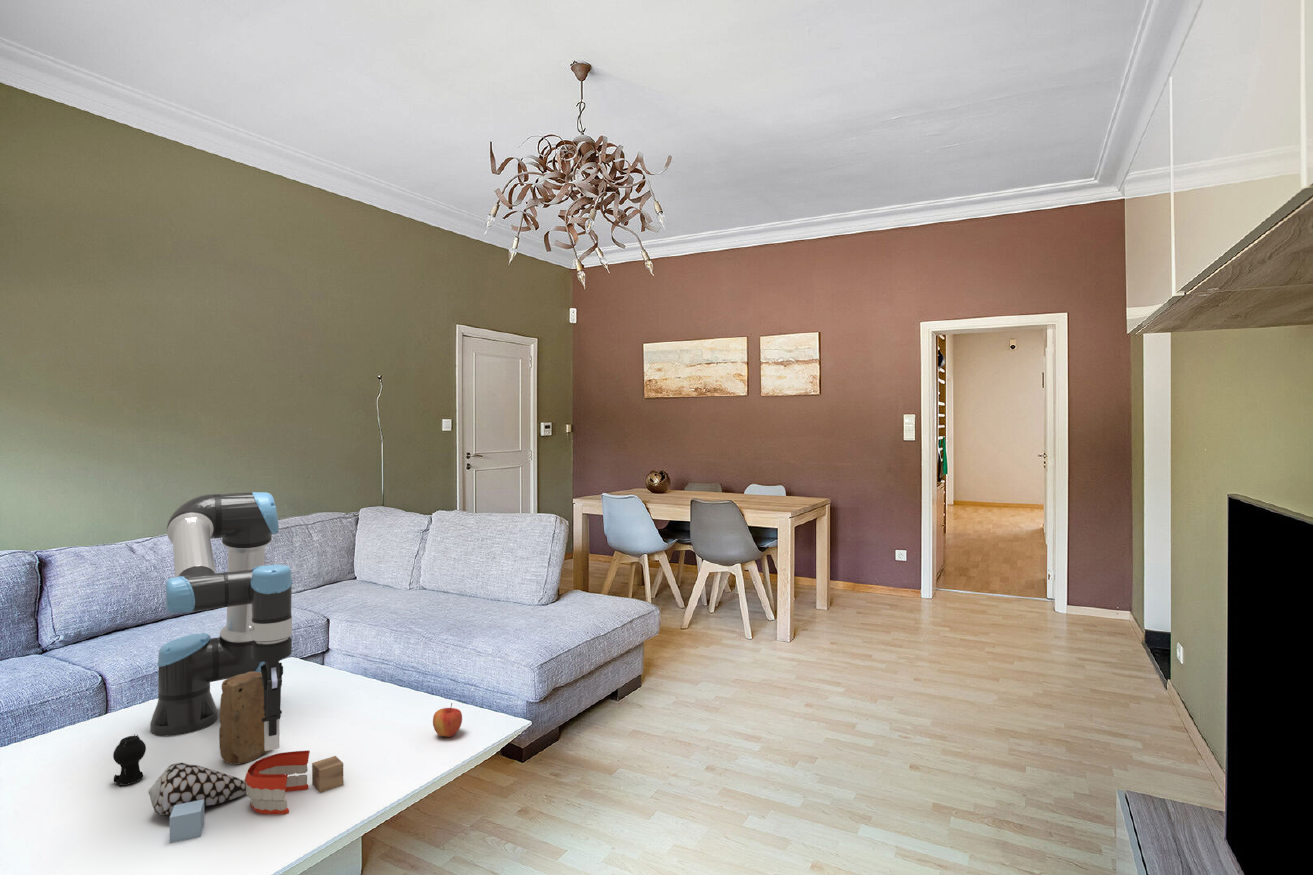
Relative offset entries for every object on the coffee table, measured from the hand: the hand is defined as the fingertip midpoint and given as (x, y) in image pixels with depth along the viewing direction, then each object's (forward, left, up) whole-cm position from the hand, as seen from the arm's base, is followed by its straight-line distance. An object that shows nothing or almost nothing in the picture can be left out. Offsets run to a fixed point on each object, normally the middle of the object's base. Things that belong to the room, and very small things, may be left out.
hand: (271, 748), depth 147 cm
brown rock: (-27, -3, -12) cm, 29 cm away
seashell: (-7, -13, -12) cm, 19 cm away
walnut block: (-1, +11, -11) cm, 16 cm away
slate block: (+4, -15, -11) cm, 19 cm away
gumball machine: (-28, -26, -12) cm, 40 cm away
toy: (0, 0, -12) cm, 12 cm away
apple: (-11, +41, -12) cm, 44 cm away
